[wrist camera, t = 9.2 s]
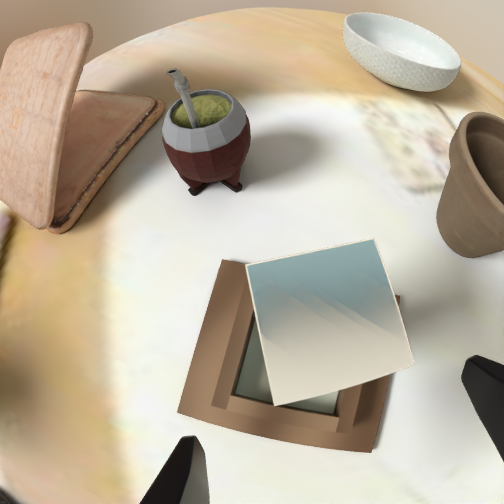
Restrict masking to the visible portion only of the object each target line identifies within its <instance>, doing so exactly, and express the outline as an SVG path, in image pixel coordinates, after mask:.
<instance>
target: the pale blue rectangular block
mask: <svg viewBox="0 0 504 504" xmlns="http://www.w3.org/2000/svg"><path fill="white" fill-rule="evenodd" d="M245 267H246V272H247V277H248V282H249V287H250V292H251V297H252V302H253V307H254V312H255V317H256V322H257V326H258V331H259V336H260V341H261V346H262V351H263V355H264V360H265V365H266V370H267V374H268V379H269V384H270V389H271V393H272V398H273V403H274V406H277V405H282V404H287V403H291V402H296V401H300V400H304V399H308V398H312V397H316V396H320V395H324V394H328V393H331V392H335V391H338V390H342V389H345V388H349V387H352V386H355V385H358V384H362V383H365V382H368V381H371V380H374V379H377V378H380V377H383V376H386V375H388V374H391V373H394V372H397V371H399V370H402V369H405V368H407V367H410V366H413V365H414V361H413V357H412V353H411V349H410V345H409V342H408V338H407V334H406V331H405V327H404V324H403V320H402V317H401V314H400V310H399V307H398V304H397V301H396V298H395V295H394V292H393V289H392V286H391V283H390V280H389V277H388V274H387V271H386V268H385V265H384V262H383V260H382V257H381V254H380V251H379V249H378V246H377V244H376V241H375V238H370V239H365V240H361V241H356V242H351V243H346V244H342V245H337V246H332V247H328V248H323V249H318V250H313V251H308V252H304V253H299V254H294V255H289V256H284V257H280V258H275V259H270V260H265V261H260V262H255V263H250V264H245Z"/></svg>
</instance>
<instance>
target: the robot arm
mask: <svg viewBox="0 0 504 504" xmlns="http://www.w3.org/2000/svg"><path fill="white" fill-rule="evenodd" d="M461 379H462V383H463V385H464V387H465V389H466V391H467V393H468V395H469V397H470V399H471V402H472V404H473V406H474V408H475V410H476V412H477V414H478V416H479V418H480V420H481V421H482V423H483V425H484V427H485V428H486V430H487V432H488V434H489V435H490V437H491V439H492V441H493V443H494V444H495V446H496V448H497V450H498V452H499V454H500V456H501V458H502V459H503V461H504V365H503V364H500V363H497V362H495V361H492V360H489V359H487V358H484V357H482V356H479V355H474V356H472V357H470V358H468V359H467V360H466V363H465V366H464V369H463V372H462V376H461ZM209 503H210V501H209V487H208V478H207V469H206V459H205V452H204V449H203V447H202V446H201V444H200V442H199V440H198V439H197V437H196V436H184V437H182V438H181V439H180V441H179V442H178V444H177V445H176V447H175V449H174V450H173V452H172V454H171V455H170V457H169V458H168V460H167V462H166V463H165V465H164V466H163V468H162V469H161V471H160V473H159V474H158V476H157V477H156V479H155V480H154V482H153V484H152V485H151V487H150V488H149V490H148V491H147V493H146V494H145V496H144V497H143V499H142V501H141V502H140V504H209Z"/></svg>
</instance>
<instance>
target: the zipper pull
mask: <svg viewBox="0 0 504 504" xmlns="http://www.w3.org/2000/svg"><path fill="white" fill-rule="evenodd" d="M0 504H11V502H10V501H9V500H8V499H7V498H6V497H5V495H4V494H3V493H2V492H1V491H0Z"/></svg>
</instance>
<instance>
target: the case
mask: <svg viewBox="0 0 504 504" xmlns="http://www.w3.org/2000/svg"><path fill="white" fill-rule="evenodd" d="M92 39H93V30H92V27H91V26H90V24H88V23H86V22H77V23H72V24H68V25H63V26H58V27H52V28H48V29H44V30H40V31H38V32H35V33H33V34H30V35H27V36H24V37H21V38H18V39H17V40H15V41H13V42H12V43H11V44H10V46H9V47H8V49H7V51H6V54H5V56H4V59H3V63H2V66H1V70H0V200H1V201H2V202H4V203H5V204H6V205H7V206H8V207H10V208H11V209H12V210H13V211H15V212H16V213H17V214H18V215H20V216H21V217H22V218H23V219H25V220H26V221H27V222H28V223H30V224H31V225H32V226H33V227H35V228H37V229H40V230H43V229H47V230H48V231H49V232H51V233H54V234H60V233H63V232H65V231H67V230H69V229H70V228H71V227H72V226H73V225H74V223H75V222H76V221H77V220H78V218H79V217H80V215H81V214H82V212H83V211H84V210H85V208H86V207H87V205H88V204H89V203H90V201H91V200H92V198H93V197H94V196H95V194H96V193H97V191H98V190H99V188H100V187H101V186H102V185H103V183H104V182H105V181H106V179H107V178H108V177H109V175H110V174H111V173H112V171H113V170H114V169H115V168H116V166H117V165H118V164H119V162H120V161H121V160H122V159H123V158H124V157H125V155H126V154H127V153H128V152H129V151H130V149H131V148H132V147H133V146H134V145H135V144H136V142H137V141H138V140H139V139H140V138H141V137H142V136H143V135H144V134H145V132H146V131H147V130H148V129H149V128H150V127H151V126H152V125H153V124H154V123H155V122H156V121H157V120H158V118H159V117H160V116H161V115H162V114H163V112H164V109H165V105H164V103H163V101H162V100H160V99H157V98H152V97H145V96H138V95H130V94H123V93H115V92H105V91H95V90H79V91H76V88H77V85H78V82H79V79H80V75H81V73H82V70H83V66H84V62H85V60H86V57H87V55H88V52H89V49H90V47H91V43H92Z"/></svg>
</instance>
